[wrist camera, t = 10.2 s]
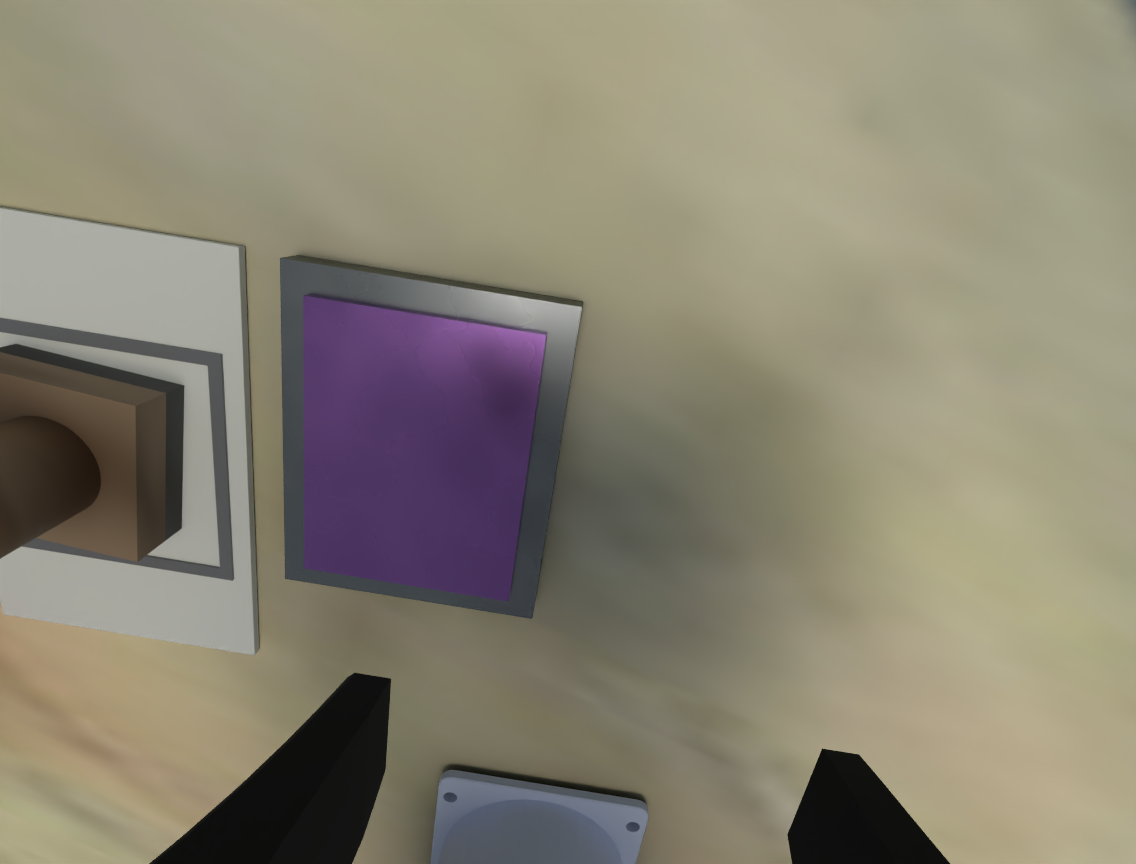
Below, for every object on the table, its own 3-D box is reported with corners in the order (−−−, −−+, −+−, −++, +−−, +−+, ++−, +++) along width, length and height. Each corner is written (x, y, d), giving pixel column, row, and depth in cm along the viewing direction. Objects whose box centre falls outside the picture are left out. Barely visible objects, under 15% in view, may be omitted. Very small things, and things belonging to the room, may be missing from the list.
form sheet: (259, 649, 22) (253, 657, 21) (10, 608, 22) (0, 615, 21) (245, 246, 17) (236, 247, 16) (-77, 193, 17) (-92, 193, 16)
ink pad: (535, 599, 20) (530, 627, 19) (299, 561, 20) (279, 586, 19) (583, 301, 17) (581, 309, 15) (298, 255, 17) (272, 258, 15)
